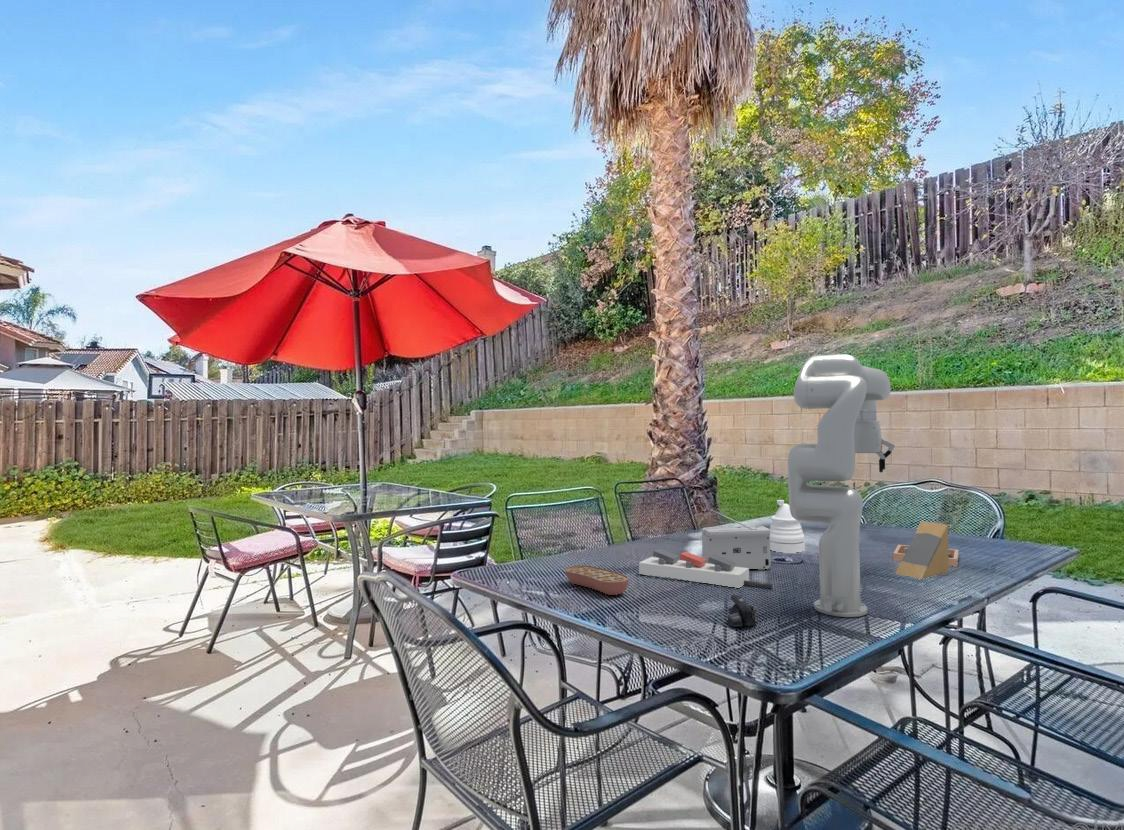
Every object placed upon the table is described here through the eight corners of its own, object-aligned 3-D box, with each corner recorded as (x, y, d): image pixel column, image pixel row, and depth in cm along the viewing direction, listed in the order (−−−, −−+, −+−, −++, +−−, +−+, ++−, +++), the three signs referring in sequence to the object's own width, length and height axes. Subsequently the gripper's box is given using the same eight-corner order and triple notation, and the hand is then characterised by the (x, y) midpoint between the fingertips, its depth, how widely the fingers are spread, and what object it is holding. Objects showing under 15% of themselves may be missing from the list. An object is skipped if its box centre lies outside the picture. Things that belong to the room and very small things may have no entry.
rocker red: (700, 568, 193) (701, 562, 193) (678, 560, 197) (680, 554, 197) (705, 565, 197) (706, 559, 197) (684, 557, 201) (685, 551, 200)
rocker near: (729, 572, 188) (731, 565, 188) (707, 563, 192) (708, 557, 192) (734, 568, 192) (735, 562, 192) (712, 560, 196) (713, 554, 195)
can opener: (760, 631, 150) (759, 607, 150) (729, 630, 151) (729, 606, 151) (749, 608, 168) (749, 586, 168) (722, 607, 169) (722, 586, 169)
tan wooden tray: (957, 567, 203) (957, 559, 203) (893, 560, 213) (893, 553, 213) (958, 557, 216) (958, 549, 216) (898, 551, 225) (898, 544, 225)
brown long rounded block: (559, 585, 193) (559, 568, 193) (584, 579, 200) (584, 563, 200) (612, 602, 176) (611, 583, 176) (637, 594, 182) (637, 577, 182)
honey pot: (779, 554, 226) (778, 503, 225) (761, 547, 238) (760, 498, 238) (812, 552, 228) (811, 501, 228) (792, 544, 241) (791, 496, 241)
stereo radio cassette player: (764, 564, 212) (763, 504, 212) (773, 571, 204) (772, 508, 204) (701, 566, 211) (700, 506, 211) (708, 572, 203) (706, 510, 203)
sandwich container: (892, 574, 196) (891, 526, 196) (921, 567, 204) (920, 520, 204) (920, 580, 189) (919, 530, 189) (949, 573, 197) (948, 524, 197)
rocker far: (672, 565, 198) (673, 559, 198) (652, 556, 202) (653, 551, 201) (677, 562, 202) (679, 556, 201) (658, 554, 205) (659, 548, 205)
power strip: (767, 592, 180) (767, 572, 180) (639, 575, 202) (638, 557, 202) (776, 585, 188) (775, 565, 188) (651, 569, 209) (651, 551, 209)
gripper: (831, 417, 202) (832, 471, 203) (892, 416, 193) (893, 473, 193) (835, 416, 209) (836, 469, 209) (895, 416, 199) (896, 471, 200)
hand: (864, 471), depth 201 cm, fingers open, 9 cm apart
